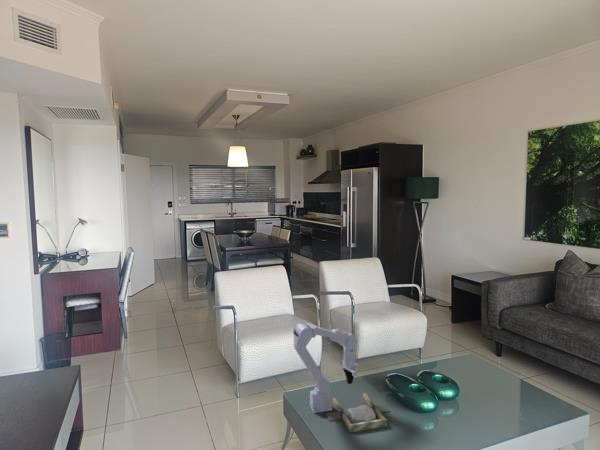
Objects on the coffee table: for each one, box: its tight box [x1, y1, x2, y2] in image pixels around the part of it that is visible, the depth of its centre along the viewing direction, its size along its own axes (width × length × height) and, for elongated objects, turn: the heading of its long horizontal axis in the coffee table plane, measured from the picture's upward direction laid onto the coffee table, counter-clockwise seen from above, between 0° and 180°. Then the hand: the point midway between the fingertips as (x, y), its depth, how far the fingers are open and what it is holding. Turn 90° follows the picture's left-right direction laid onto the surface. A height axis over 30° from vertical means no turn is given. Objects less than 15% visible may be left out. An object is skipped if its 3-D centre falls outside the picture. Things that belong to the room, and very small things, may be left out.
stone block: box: [346, 404, 377, 424], centre depth 183 cm, size 12×5×10 cm
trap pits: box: [325, 404, 391, 422], centre depth 187 cm, size 30×6×1 cm, turn 103°
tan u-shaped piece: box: [332, 392, 388, 433], centre depth 186 cm, size 17×25×3 cm
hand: (349, 383), depth 197 cm, fingers closed
